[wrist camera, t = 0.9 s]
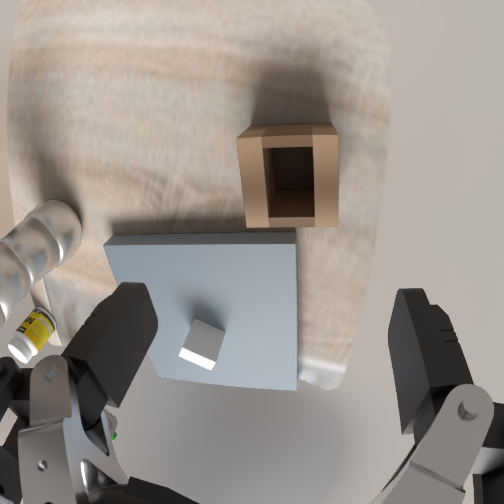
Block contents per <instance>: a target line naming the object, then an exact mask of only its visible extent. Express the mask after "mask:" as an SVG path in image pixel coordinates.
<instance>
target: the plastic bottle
mask: <svg viewBox="0 0 504 504" xmlns="http://www.w3.org/2000/svg"><path fill="white" fill-rule="evenodd" d="M81 239H82V227H81V223H80V220H79V218H78V216H77V215H76V213H75V212H74V210H73V209H72V208H71V207H70V206H69V205H67V204H66V203H64V202H62V201H58V200H49V201H46V202H43V203H41V204H39V205H37V206H36V207H35V208H34V209H33V210H32V211H31V212H30V213H29V214H28V215H27V216H26V217H25V218H24V220H23V221H22V222H20V223H19V224H18V225H17V226H16V227H15V228H14V229H13V230H12V231H11V232H10V233H8V234H7V235H6V236H5V237H4V238H2V239H1V240H0V331H1V330H2V328H3V327H4V325H5V324H6V322H7V321H8V319H9V317H10V316H11V314H12V312H13V311H14V310H15V308H16V306H17V305H18V303H19V302H20V301H21V300H22V299H23V297H24V296H25V295H26V294H27V293H28V291H29V290H30V289H31V288H32V287H33V286H34V285H35V284H36V283H37V282H38V281H39V280H40V279H42V278H43V277H44V276H45V275H46V274H48V273H49V272H50V271H51V270H53V269H54V268H55V267H57V266H59V265H61V264H63V263H64V262H66V261H67V260H69V259H70V258H71V257H72V256H73V255H74V254H75V252H76V251H77V249H78V248H79V246H80V244H81Z"/></svg>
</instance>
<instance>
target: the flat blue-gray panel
mask: <svg viewBox="0 0 504 504" xmlns="http://www.w3.org/2000/svg"><path fill="white" fill-rule="evenodd" d="M103 247H104V250H105V253H106V256H107V258H108V261H109V264H110V267H111V269H112V272H113V275H114V277H115V280H116V282H117V285H118V286H119V285H120V284H121V283H122V282H140V283H144V284H145V285H146V286H147V289H148V292H149V294H150V297H151V300H152V303H153V306H154V309H155V312H156V314H157V318H158V330H157V334H156V336H155V338H154V340H153V342H152V343H151V345H150V347H149V349H148V351H147V354H148V356H149V358H150V360H151V362H152V364H153V366H154V368H155V370H156V372H157V374H158V376H160V377H166V378H173V379H179V380H185V381H192V382H200V383H209V384H217V385H226V386H236V387H248V388H261V389H279V390H297V381H298V272H297V236H296V232H254V233H191V234H148V235H115V236H112V237H111V238H110V239H109V240H108V241H107V242H106V243H105V244H104V245H103Z"/></svg>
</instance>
